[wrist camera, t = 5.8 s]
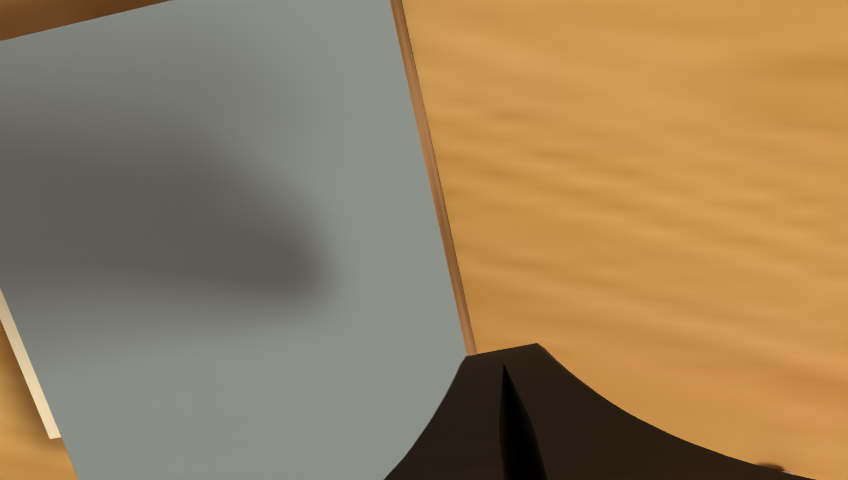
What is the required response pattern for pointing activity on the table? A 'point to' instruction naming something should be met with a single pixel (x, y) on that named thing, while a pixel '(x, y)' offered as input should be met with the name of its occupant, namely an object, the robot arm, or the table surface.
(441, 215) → the box
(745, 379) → the table surface
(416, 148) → the lid
